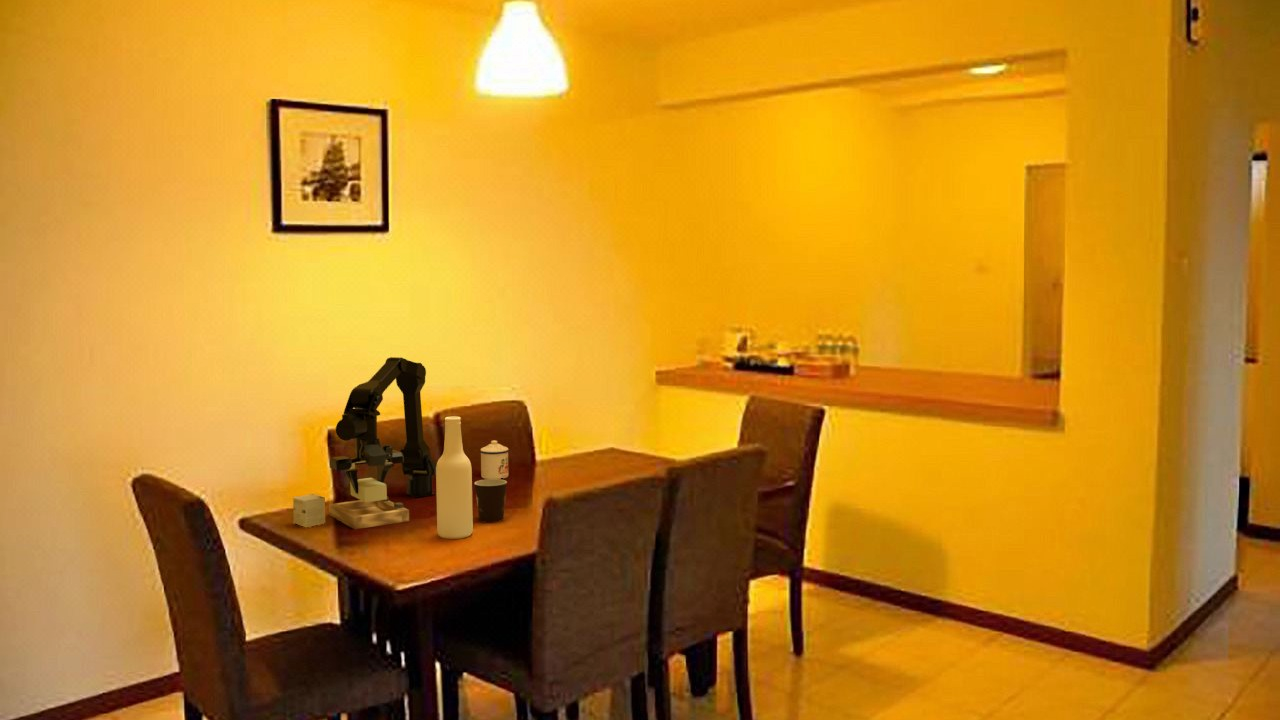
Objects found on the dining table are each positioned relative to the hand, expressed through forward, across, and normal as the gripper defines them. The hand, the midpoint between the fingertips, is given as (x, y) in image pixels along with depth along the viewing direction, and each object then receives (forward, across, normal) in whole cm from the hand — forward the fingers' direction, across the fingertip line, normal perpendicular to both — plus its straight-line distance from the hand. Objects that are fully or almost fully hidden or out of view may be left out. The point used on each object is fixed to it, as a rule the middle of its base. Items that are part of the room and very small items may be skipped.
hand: (368, 491), depth 287 cm
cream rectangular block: (+2, 0, 0) cm, 2 cm away
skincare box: (+7, -15, +3) cm, 17 cm away
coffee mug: (+7, +27, -20) cm, 34 cm away
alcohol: (+7, +11, -30) cm, 33 cm away
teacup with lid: (+8, +54, +29) cm, 62 cm away
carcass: (+7, 0, 0) cm, 7 cm away
